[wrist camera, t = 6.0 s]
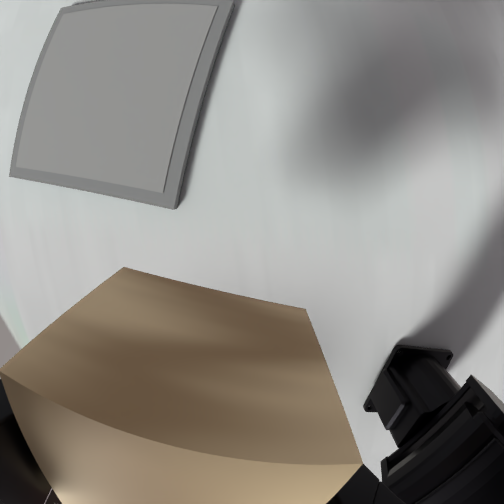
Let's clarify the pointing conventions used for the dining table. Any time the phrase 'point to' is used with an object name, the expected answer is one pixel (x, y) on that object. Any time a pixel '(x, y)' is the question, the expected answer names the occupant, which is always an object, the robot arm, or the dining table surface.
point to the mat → (119, 97)
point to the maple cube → (181, 399)
